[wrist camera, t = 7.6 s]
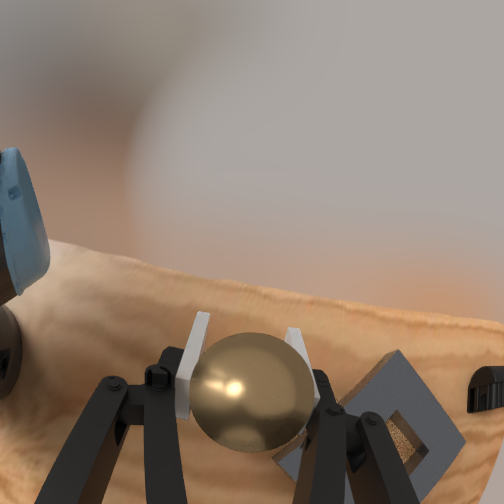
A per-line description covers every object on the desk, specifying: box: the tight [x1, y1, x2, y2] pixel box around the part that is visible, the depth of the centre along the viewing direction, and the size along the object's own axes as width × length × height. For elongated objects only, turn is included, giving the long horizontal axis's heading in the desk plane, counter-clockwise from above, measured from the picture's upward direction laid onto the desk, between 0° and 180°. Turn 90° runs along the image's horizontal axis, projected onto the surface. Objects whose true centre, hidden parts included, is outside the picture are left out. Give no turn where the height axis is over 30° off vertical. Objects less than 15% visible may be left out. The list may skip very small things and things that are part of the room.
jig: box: [272, 349, 466, 504], centre depth 27 cm, size 20×20×3 cm
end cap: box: [467, 366, 504, 413], centre depth 30 cm, size 10×7×7 cm
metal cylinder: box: [189, 333, 315, 453], centre depth 15 cm, size 5×5×10 cm
